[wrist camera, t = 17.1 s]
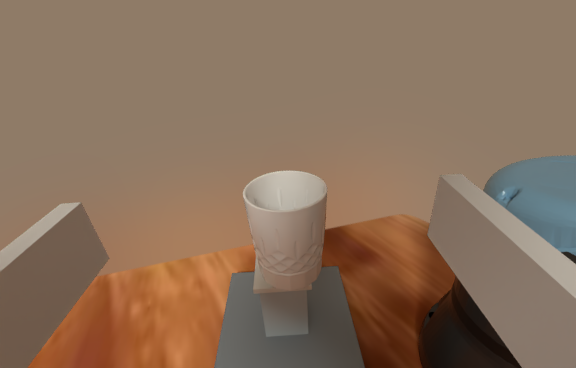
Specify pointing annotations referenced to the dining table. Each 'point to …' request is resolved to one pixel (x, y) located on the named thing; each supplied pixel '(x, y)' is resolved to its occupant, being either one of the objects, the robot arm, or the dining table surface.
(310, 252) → the white cup
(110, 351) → the dining table surface
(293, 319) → the narrow pillar
